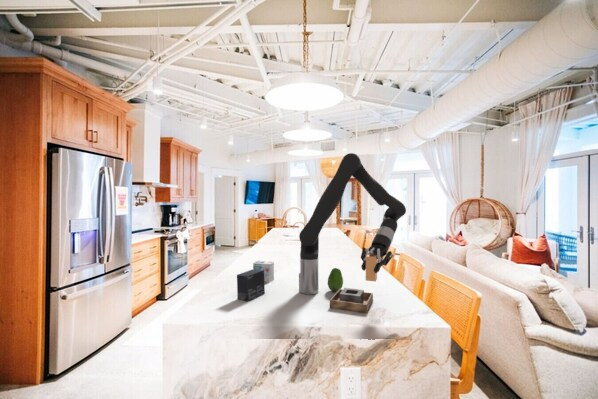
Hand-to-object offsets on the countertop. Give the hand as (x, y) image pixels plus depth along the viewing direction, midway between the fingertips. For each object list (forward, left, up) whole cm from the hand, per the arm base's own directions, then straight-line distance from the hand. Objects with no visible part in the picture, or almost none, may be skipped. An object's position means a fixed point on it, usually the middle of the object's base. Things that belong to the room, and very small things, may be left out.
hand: (369, 270), depth 122 cm
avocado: (-21, +22, -18) cm, 35 cm away
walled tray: (-9, +7, -18) cm, 21 cm away
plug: (+1, +2, -4) cm, 5 cm away
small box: (-57, -1, -18) cm, 60 cm away
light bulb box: (-65, +25, -18) cm, 72 cm away
